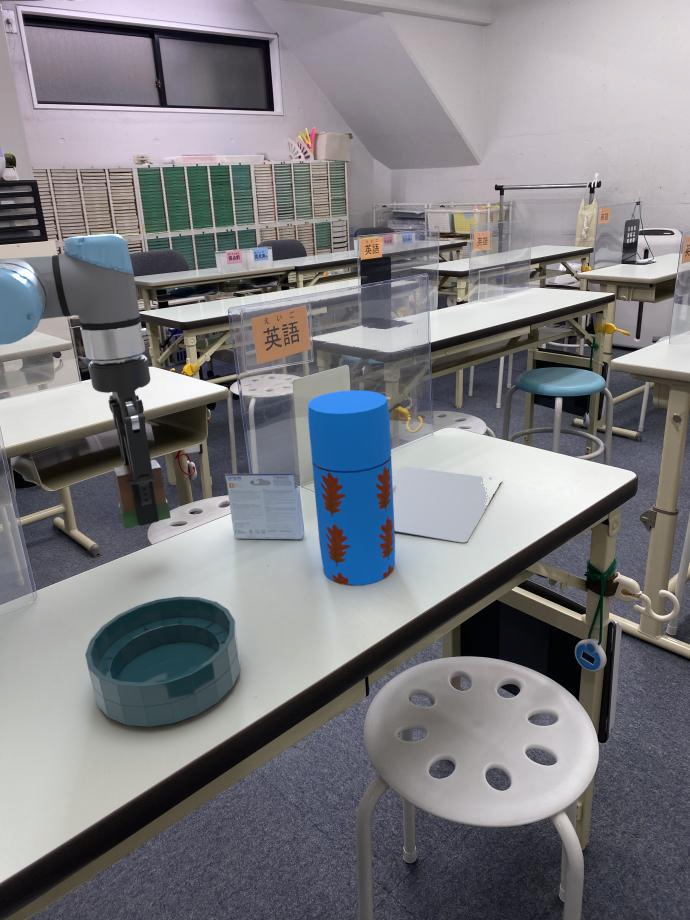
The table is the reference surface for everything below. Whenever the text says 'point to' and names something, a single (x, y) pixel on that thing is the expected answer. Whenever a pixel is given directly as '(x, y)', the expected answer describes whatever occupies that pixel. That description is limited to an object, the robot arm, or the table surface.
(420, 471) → the white flat square sheet
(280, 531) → the ink box
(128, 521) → the sponge
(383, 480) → the thermos
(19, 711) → the table surface
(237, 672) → the bowl
